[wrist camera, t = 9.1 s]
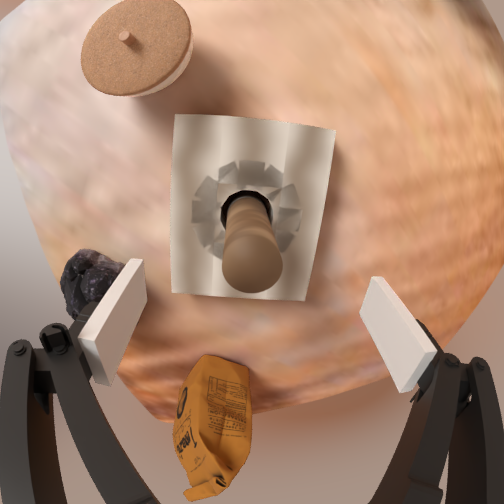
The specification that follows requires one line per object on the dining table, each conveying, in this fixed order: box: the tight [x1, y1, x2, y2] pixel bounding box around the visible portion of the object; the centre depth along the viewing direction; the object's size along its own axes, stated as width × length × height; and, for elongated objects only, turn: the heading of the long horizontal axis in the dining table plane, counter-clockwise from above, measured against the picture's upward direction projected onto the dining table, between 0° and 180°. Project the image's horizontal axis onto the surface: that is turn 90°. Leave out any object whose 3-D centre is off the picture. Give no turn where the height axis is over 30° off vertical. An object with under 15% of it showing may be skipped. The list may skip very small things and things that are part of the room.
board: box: [170, 114, 336, 301], centre depth 30 cm, size 16×20×4 cm
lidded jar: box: [81, 0, 193, 97], centre depth 20 cm, size 11×11×9 cm
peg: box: [222, 192, 283, 293], centre depth 25 cm, size 4×4×15 cm
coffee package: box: [173, 354, 252, 502], centre depth 34 cm, size 10×12×22 cm
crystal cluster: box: [60, 249, 138, 324], centre depth 32 cm, size 13×14×10 cm
